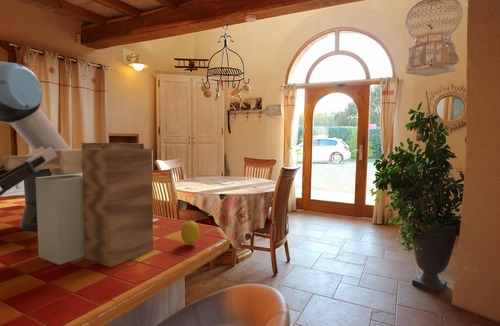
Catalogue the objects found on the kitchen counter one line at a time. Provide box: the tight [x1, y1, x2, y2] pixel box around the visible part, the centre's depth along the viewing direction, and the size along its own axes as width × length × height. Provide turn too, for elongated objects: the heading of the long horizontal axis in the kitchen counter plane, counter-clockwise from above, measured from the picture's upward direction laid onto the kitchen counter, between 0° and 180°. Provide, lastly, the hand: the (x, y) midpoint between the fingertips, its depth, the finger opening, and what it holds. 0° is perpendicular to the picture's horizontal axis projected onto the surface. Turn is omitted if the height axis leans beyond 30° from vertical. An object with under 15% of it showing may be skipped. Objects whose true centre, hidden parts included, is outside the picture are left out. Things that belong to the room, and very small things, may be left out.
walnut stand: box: [81, 142, 154, 268], centre depth 85 cm, size 11×14×32 cm
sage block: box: [36, 173, 85, 266], centre depth 86 cm, size 10×14×22 cm
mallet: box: [3, 148, 82, 173], centre depth 80 cm, size 7×19×6 cm, turn 150°
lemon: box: [180, 219, 200, 246], centre depth 94 cm, size 6×6×8 cm
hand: (49, 151), depth 79 cm, fingers closed on mallet, 3 cm apart
